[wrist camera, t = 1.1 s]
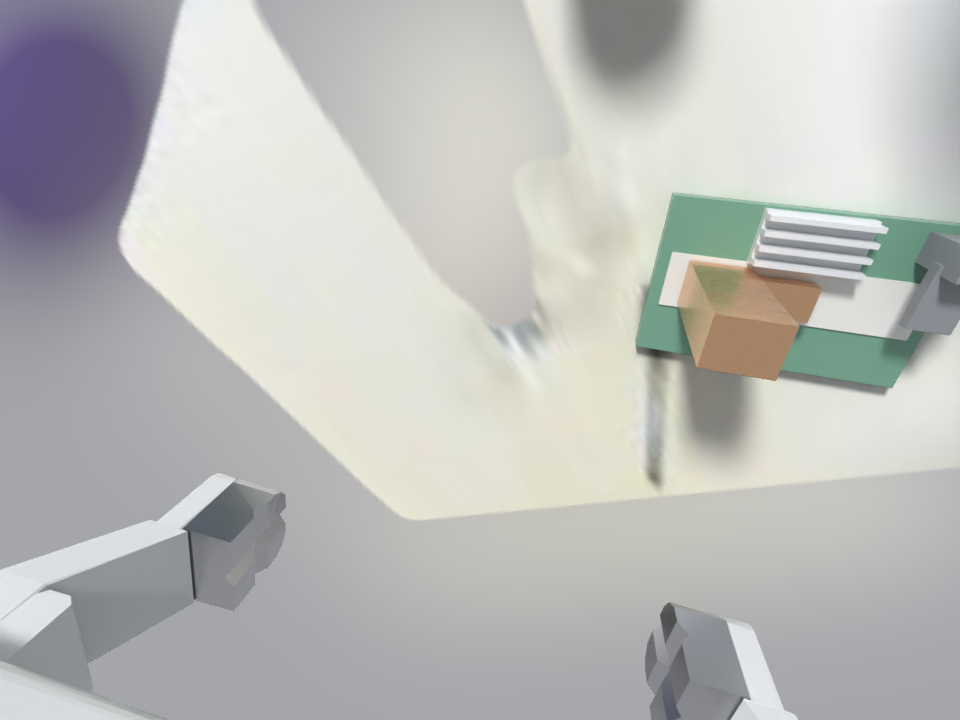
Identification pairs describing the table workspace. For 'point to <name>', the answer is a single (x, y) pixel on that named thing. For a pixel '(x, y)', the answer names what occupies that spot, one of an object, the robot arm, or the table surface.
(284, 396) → the table surface
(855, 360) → the board
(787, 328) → the tall wooden block
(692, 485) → the table surface
